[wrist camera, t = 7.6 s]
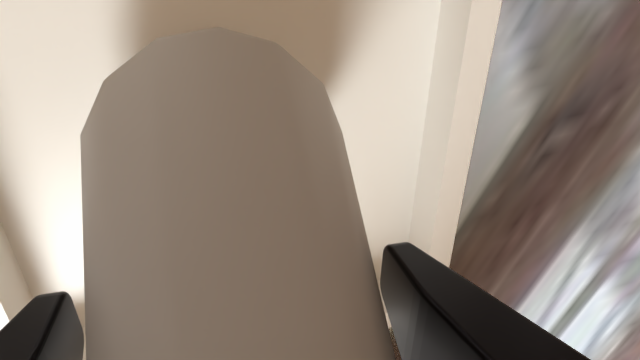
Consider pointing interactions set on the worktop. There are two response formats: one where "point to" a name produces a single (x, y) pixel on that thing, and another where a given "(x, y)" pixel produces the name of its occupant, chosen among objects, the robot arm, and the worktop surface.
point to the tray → (300, 42)
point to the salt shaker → (223, 211)
